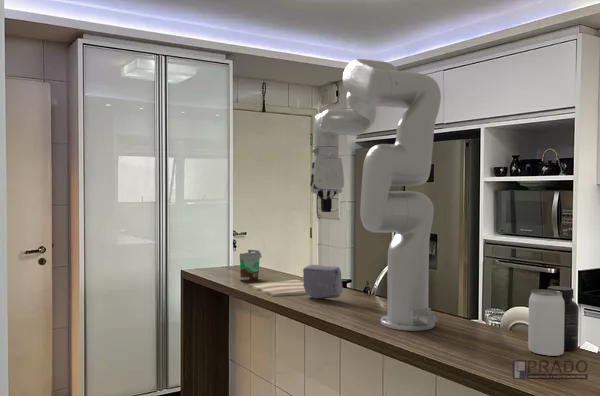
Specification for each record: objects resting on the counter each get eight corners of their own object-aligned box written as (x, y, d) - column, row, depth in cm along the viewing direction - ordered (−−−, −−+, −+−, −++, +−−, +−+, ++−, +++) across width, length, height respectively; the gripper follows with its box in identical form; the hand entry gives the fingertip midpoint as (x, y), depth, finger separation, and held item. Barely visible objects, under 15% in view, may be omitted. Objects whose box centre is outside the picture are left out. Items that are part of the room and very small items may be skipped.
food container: (256, 283, 181) (257, 254, 181) (239, 282, 182) (239, 253, 182) (264, 277, 193) (265, 249, 193) (248, 276, 194) (248, 249, 194)
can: (568, 351, 106) (568, 291, 106) (558, 359, 101) (559, 296, 101) (534, 345, 110) (535, 287, 110) (523, 352, 106) (524, 292, 105)
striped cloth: (324, 292, 165) (324, 288, 165) (272, 297, 157) (272, 293, 157) (297, 283, 181) (297, 279, 181) (248, 287, 173) (248, 284, 173)
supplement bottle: (575, 342, 112) (576, 286, 112) (580, 352, 106) (581, 292, 106) (540, 339, 115) (541, 284, 115) (542, 348, 108) (543, 289, 108)
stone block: (301, 298, 156) (301, 264, 156) (310, 296, 160) (310, 263, 160) (335, 304, 149) (335, 268, 149) (344, 301, 153) (344, 266, 153)
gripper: (311, 151, 159) (311, 212, 159) (353, 153, 166) (352, 212, 166) (299, 153, 166) (299, 211, 166) (340, 154, 173) (339, 211, 173)
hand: (326, 211), depth 166 cm, fingers closed
